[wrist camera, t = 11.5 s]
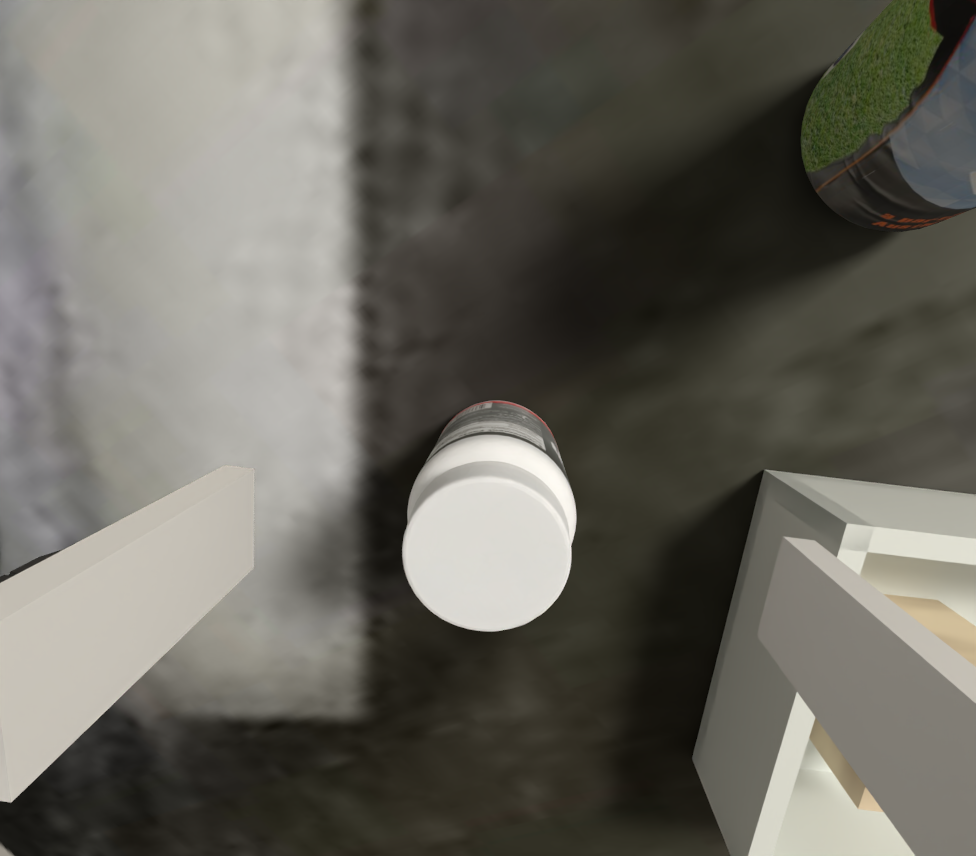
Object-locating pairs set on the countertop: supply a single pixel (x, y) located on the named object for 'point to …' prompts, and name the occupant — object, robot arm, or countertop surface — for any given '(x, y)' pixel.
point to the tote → (769, 694)
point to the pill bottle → (490, 520)
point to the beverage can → (898, 119)
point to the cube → (947, 627)
